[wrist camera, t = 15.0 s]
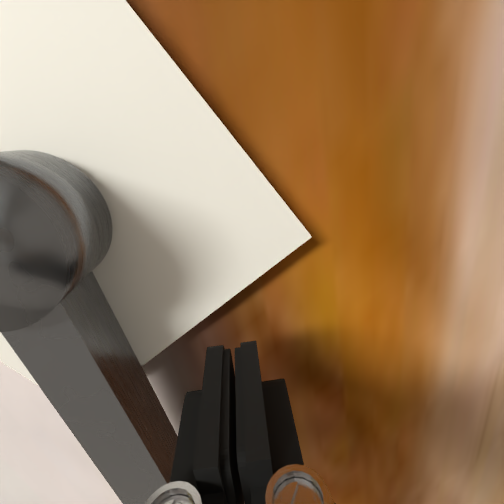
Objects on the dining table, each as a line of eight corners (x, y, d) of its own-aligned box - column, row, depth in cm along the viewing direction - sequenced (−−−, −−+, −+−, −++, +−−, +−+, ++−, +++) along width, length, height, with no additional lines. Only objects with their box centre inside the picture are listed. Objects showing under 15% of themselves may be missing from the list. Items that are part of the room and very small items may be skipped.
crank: (-62, 171, 9) (-193, 188, 6) (74, 132, 9) (3, 133, 6) (146, 494, 15) (127, 574, 13) (229, 474, 15) (228, 551, 12)
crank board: (13, -142, 8) (-14, -177, 7) (306, 230, 12) (312, 237, 11) (-225, 189, 10) (-267, 194, 9) (88, 398, 14) (79, 414, 13)
